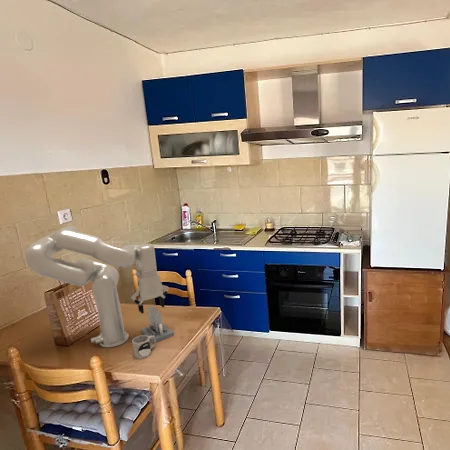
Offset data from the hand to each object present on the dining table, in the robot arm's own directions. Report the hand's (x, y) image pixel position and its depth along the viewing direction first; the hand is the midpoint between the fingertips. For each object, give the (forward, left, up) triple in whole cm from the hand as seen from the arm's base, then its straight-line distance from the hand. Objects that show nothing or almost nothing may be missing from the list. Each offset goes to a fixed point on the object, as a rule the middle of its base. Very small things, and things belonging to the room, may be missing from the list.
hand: (152, 309), depth 162 cm
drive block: (+1, 0, -10) cm, 10 cm away
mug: (-9, -12, -12) cm, 19 cm away
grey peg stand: (+1, 0, -12) cm, 12 cm away
